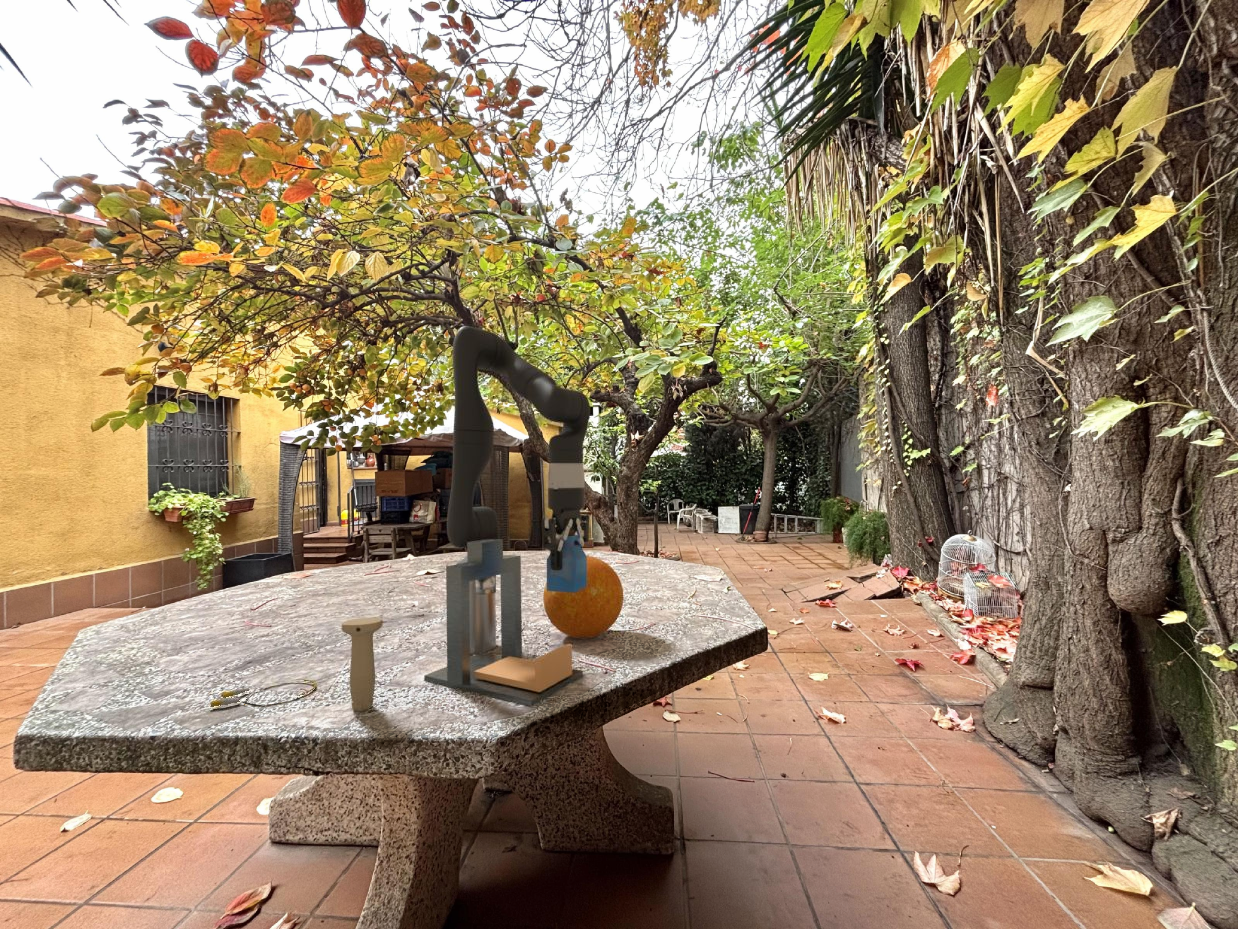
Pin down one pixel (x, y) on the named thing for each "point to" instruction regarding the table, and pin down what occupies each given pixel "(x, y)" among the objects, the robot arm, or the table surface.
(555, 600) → the decorative sphere
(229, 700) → the jump rope
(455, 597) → the press frame
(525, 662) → the press bed carriage
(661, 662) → the table surface
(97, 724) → the table surface
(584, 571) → the perfume bottle
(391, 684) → the table surface
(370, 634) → the handle
